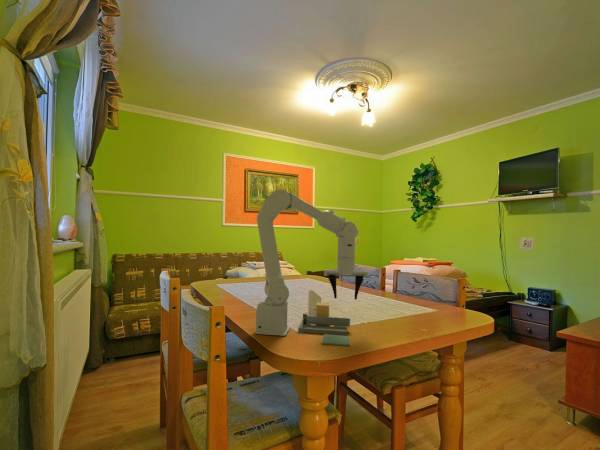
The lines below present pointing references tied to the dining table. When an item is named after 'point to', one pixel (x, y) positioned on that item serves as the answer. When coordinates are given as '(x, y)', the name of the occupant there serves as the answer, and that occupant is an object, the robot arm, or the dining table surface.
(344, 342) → the pad
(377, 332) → the dining table surface
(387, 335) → the dining table surface
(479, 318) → the dining table surface
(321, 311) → the plug
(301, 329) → the dock plate
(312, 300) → the white wedge bracket
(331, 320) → the retaining bar
